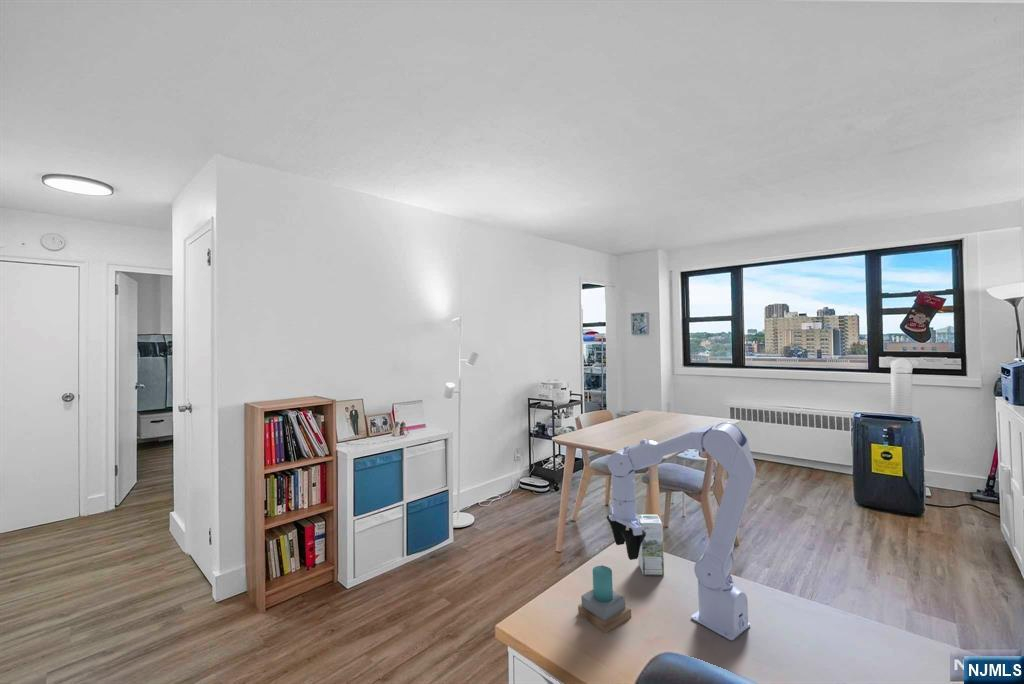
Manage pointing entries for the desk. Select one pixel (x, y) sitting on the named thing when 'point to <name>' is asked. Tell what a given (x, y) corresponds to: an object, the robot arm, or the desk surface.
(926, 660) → the desk surface
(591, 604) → the grey slab
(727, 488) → the robot arm
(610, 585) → the teal capsule
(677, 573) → the desk surface
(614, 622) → the walnut slab
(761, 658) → the desk surface
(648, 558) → the syrup box
